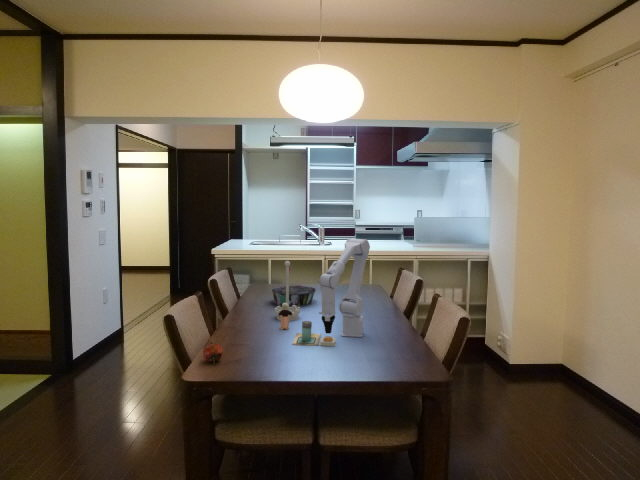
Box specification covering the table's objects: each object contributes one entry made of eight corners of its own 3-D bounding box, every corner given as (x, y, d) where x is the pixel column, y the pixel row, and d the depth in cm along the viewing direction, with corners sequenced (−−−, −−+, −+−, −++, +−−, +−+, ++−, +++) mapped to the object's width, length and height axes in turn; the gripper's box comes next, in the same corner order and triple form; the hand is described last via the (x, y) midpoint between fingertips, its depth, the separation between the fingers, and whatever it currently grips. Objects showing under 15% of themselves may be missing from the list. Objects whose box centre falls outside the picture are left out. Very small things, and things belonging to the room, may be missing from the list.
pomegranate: (225, 368, 163) (224, 346, 170) (222, 358, 157) (221, 335, 165) (204, 371, 161) (204, 349, 168) (201, 361, 156) (201, 338, 163)
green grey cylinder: (311, 338, 189) (311, 321, 188) (311, 342, 185) (311, 323, 184) (301, 338, 189) (302, 320, 188) (301, 341, 184) (302, 323, 184)
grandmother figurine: (278, 330, 202) (278, 304, 201) (276, 328, 206) (276, 302, 205) (294, 329, 205) (294, 303, 203) (292, 327, 208) (292, 301, 207)
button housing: (335, 341, 188) (335, 337, 188) (334, 346, 182) (335, 342, 181) (321, 341, 188) (321, 337, 188) (320, 345, 182) (320, 342, 182)
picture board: (320, 335, 196) (320, 333, 196) (318, 345, 182) (318, 343, 182) (296, 334, 197) (296, 332, 197) (292, 344, 183) (292, 342, 183)
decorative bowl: (322, 309, 250) (323, 292, 250) (276, 310, 239) (278, 292, 239) (305, 299, 274) (307, 284, 273) (264, 300, 263) (265, 283, 262)
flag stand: (296, 322, 217) (296, 263, 214) (271, 320, 219) (271, 262, 216) (302, 315, 229) (302, 259, 227) (279, 314, 232) (278, 258, 229)
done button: (331, 341, 186) (332, 336, 186) (331, 344, 183) (331, 338, 183) (324, 341, 187) (324, 336, 186) (324, 344, 183) (324, 338, 183)
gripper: (320, 297, 191) (320, 327, 192) (317, 305, 176) (317, 338, 178) (336, 298, 190) (336, 328, 191) (334, 306, 176) (334, 338, 177)
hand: (328, 332), depth 184 cm, fingers closed
